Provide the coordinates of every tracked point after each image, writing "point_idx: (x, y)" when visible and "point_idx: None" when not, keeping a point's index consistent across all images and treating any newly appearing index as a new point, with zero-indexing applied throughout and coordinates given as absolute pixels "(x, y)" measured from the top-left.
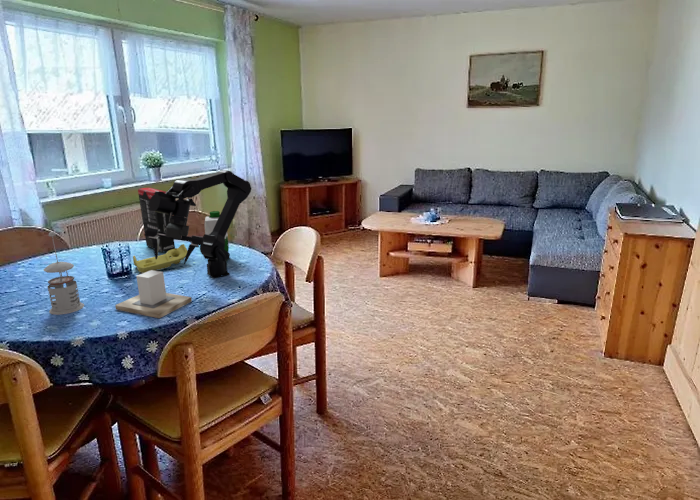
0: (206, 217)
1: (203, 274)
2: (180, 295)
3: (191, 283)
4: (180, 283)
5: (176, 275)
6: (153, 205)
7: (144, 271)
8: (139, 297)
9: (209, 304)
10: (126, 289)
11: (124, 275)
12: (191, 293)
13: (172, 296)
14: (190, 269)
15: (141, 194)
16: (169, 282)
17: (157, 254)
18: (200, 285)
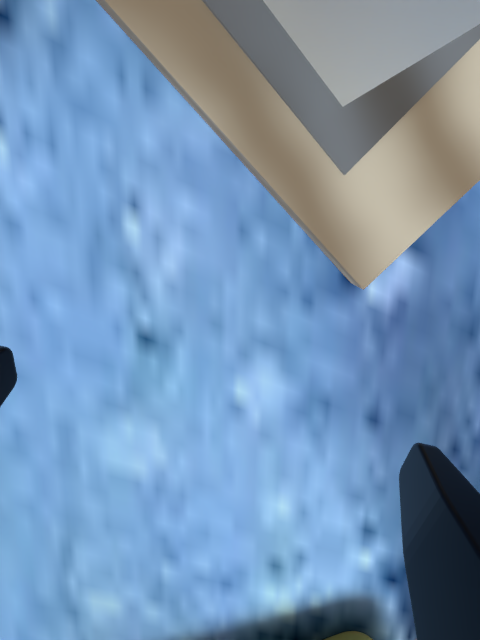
0: None
1: (8, 535)
2: (136, 30)
3: (80, 393)
4: (156, 417)
5: (184, 559)
6: None
7: (354, 638)
8: (446, 148)
9: None
10: (465, 418)
11: None
12: (64, 172)
13: (206, 40)
14: (103, 631)
15: None
16: (226, 456)
17: (440, 516)
18: (7, 330)
